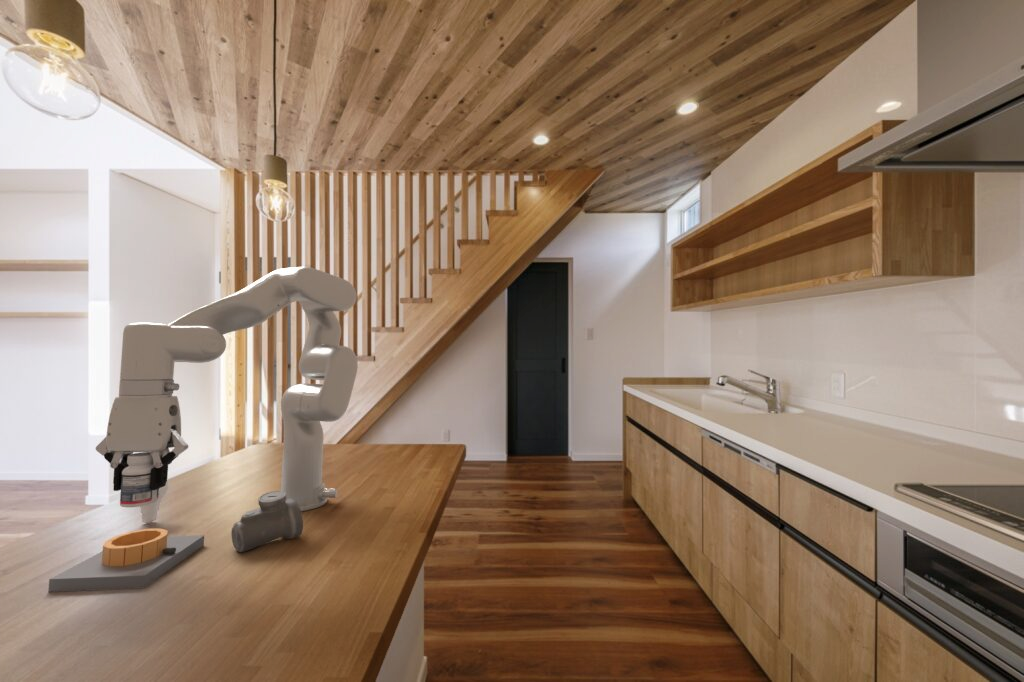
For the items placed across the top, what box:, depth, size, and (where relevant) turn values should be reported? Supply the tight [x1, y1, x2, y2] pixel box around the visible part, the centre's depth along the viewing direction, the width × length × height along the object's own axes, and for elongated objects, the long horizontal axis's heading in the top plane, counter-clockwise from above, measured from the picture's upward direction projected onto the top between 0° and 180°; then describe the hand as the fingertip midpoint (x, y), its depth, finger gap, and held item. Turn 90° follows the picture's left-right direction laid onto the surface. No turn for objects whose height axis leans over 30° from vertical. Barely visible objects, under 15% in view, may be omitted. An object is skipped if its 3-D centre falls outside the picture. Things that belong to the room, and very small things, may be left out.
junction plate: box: [47, 527, 205, 593], centre depth 76 cm, size 14×16×5 cm
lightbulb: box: [139, 480, 169, 525], centre depth 95 cm, size 6×6×11 cm
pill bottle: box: [119, 452, 159, 508], centre depth 76 cm, size 5×5×9 cm
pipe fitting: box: [230, 490, 304, 553], centre depth 86 cm, size 12×8×10 cm
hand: (140, 487), depth 76 cm, fingers closed on pill bottle, 5 cm apart
